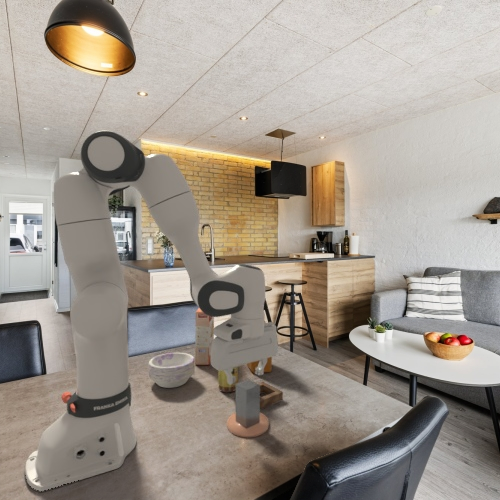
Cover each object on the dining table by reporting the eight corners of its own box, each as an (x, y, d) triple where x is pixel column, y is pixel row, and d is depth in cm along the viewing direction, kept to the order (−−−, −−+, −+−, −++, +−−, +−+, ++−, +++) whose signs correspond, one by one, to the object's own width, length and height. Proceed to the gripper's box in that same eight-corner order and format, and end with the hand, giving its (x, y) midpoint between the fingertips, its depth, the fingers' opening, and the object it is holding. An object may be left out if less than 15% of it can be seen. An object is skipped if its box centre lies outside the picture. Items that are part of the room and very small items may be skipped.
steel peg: (246, 428, 84) (246, 390, 83) (235, 421, 87) (235, 383, 87) (259, 422, 87) (259, 385, 86) (248, 415, 90) (248, 379, 90)
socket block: (260, 409, 95) (260, 401, 94) (241, 397, 101) (241, 389, 101) (282, 399, 100) (282, 391, 100) (262, 389, 107) (263, 381, 107)
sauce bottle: (234, 394, 104) (235, 331, 103) (215, 392, 105) (215, 330, 104) (239, 385, 110) (239, 326, 109) (221, 383, 111) (221, 325, 111)
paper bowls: (168, 370, 122) (168, 348, 122) (203, 377, 116) (203, 355, 116) (138, 386, 109) (138, 363, 108) (176, 396, 102) (175, 371, 102)
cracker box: (210, 365, 126) (210, 311, 126) (194, 365, 127) (194, 311, 126) (214, 352, 140) (214, 304, 140) (200, 352, 140) (200, 304, 140)
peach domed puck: (244, 442, 79) (244, 439, 79) (218, 422, 88) (218, 419, 88) (277, 426, 86) (277, 423, 86) (250, 409, 95) (250, 406, 95)
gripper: (268, 318, 95) (266, 366, 95) (207, 329, 82) (206, 384, 82) (284, 323, 90) (282, 373, 91) (222, 335, 77) (220, 393, 78)
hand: (245, 378), depth 86 cm, fingers open, 8 cm apart
